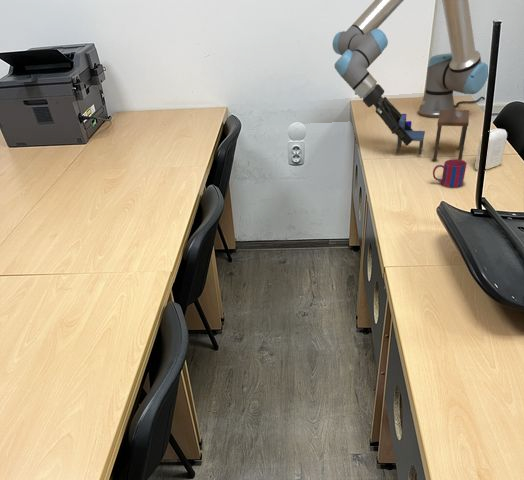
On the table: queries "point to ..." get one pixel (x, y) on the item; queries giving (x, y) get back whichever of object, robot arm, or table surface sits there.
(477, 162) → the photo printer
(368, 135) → the table surface
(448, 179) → the mug
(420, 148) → the chair
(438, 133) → the desk
